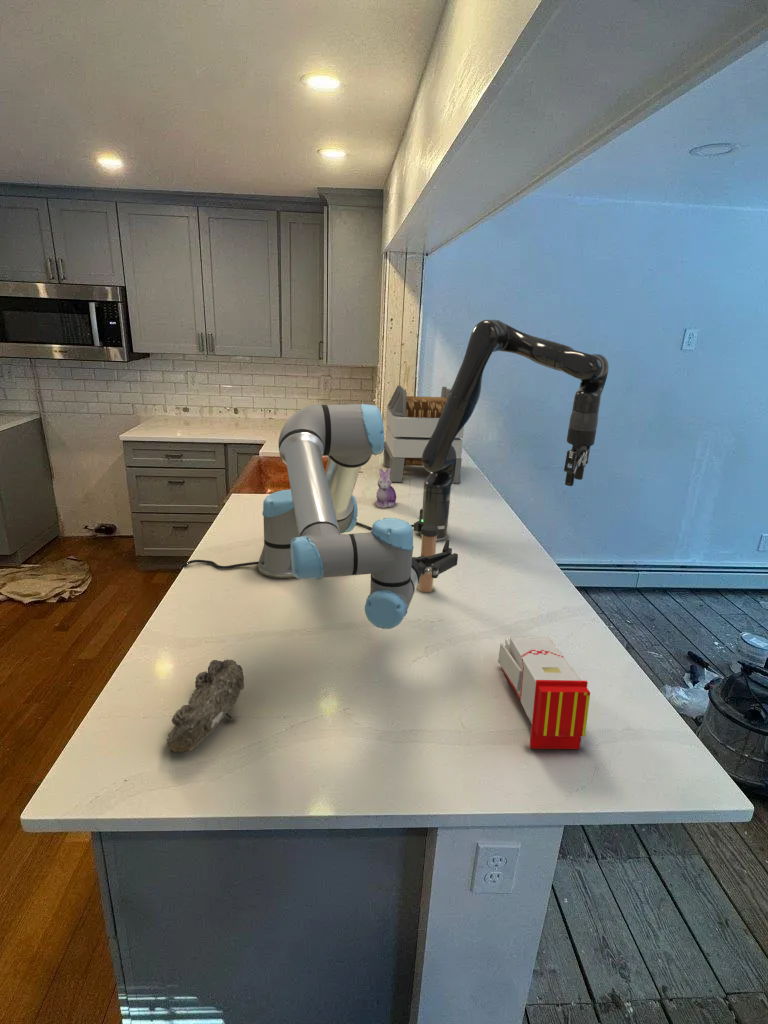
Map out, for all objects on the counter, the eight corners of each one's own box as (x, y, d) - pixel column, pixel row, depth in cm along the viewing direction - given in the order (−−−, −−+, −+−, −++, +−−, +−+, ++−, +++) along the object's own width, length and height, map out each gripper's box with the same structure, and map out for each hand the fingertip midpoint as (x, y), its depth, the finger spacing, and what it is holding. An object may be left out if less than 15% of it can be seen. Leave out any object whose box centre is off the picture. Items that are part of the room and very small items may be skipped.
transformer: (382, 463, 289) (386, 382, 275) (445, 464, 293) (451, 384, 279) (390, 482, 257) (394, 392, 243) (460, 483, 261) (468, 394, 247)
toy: (546, 620, 128) (599, 688, 99) (541, 675, 131) (591, 756, 102) (493, 619, 128) (531, 687, 99) (489, 674, 131) (524, 755, 101)
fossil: (192, 660, 117) (244, 628, 112) (224, 691, 120) (276, 661, 115) (142, 746, 98) (202, 712, 93) (182, 779, 101) (242, 748, 96)
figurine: (380, 509, 222) (382, 473, 217) (369, 501, 231) (370, 466, 226) (401, 507, 226) (404, 470, 221) (389, 499, 235) (391, 464, 230)
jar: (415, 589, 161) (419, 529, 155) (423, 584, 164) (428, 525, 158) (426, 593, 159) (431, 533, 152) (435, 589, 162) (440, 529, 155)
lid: (417, 533, 155) (417, 527, 155) (427, 528, 159) (428, 523, 158) (431, 538, 152) (431, 532, 152) (441, 533, 156) (442, 528, 155)
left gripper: (342, 586, 120) (368, 549, 140) (459, 603, 115) (470, 562, 135) (343, 553, 118) (369, 520, 137) (462, 570, 113) (472, 533, 132)
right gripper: (577, 422, 167) (568, 474, 173) (561, 428, 156) (552, 484, 162) (603, 425, 163) (593, 479, 169) (588, 433, 152) (578, 490, 158)
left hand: (419, 541), depth 136 cm, fingers open, 13 cm apart
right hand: (573, 482), depth 165 cm, fingers open, 8 cm apart
